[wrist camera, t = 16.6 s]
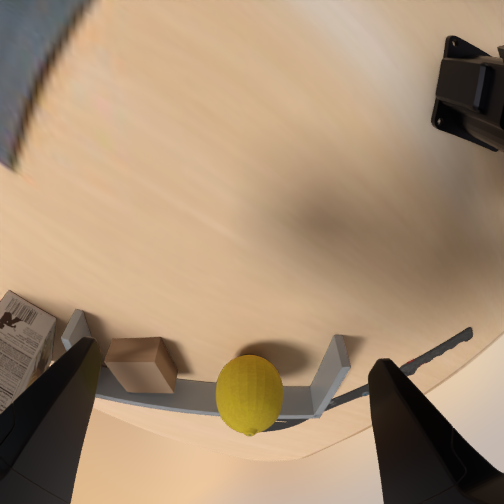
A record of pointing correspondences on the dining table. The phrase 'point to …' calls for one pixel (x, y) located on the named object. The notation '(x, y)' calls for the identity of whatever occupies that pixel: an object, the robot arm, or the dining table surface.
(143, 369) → the brown wooden block
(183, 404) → the frame
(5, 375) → the coffee box
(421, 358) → the knife
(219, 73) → the dining table surface
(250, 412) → the lemon
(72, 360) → the robot arm
